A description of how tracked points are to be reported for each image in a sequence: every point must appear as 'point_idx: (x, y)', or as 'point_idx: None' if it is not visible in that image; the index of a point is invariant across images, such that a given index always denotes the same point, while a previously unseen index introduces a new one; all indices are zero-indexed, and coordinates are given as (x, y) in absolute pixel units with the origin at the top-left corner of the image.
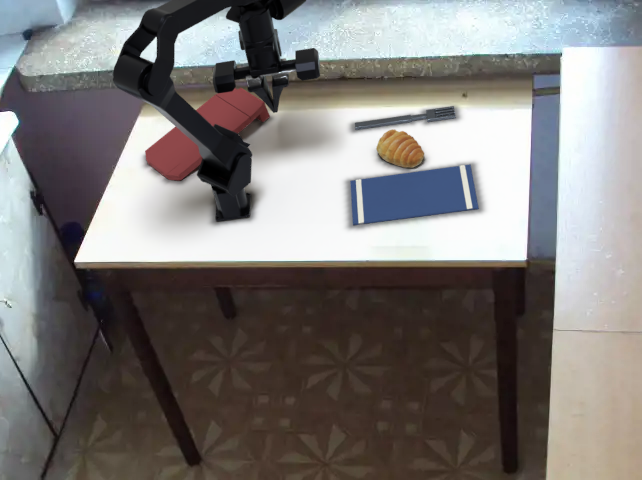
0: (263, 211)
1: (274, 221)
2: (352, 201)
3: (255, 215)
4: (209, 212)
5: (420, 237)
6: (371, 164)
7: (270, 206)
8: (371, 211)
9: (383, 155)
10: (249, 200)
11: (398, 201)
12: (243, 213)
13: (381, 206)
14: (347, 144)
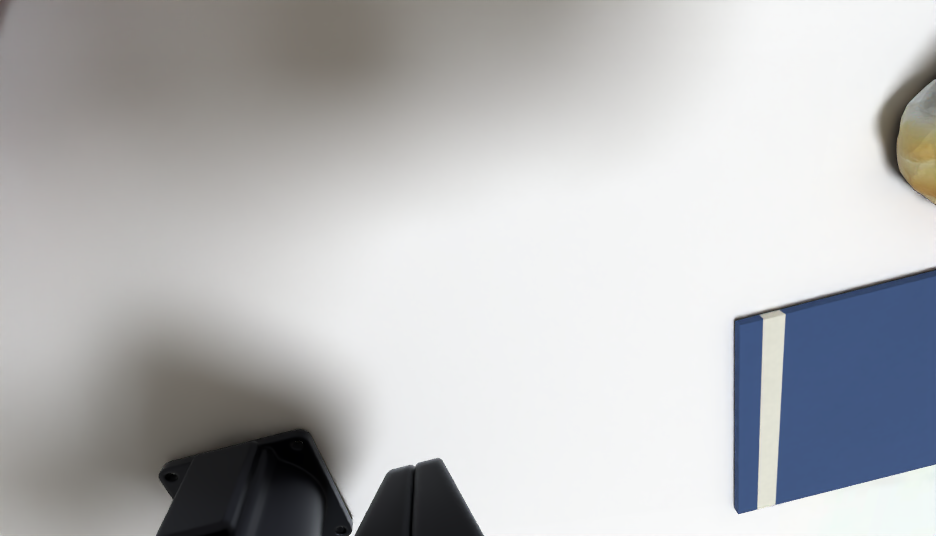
0: None
1: None
2: (742, 428)
3: None
4: None
5: (927, 520)
6: (835, 200)
7: None
8: (805, 463)
9: (932, 195)
10: (320, 473)
11: (906, 413)
12: (324, 529)
13: (843, 440)
14: (728, 33)
